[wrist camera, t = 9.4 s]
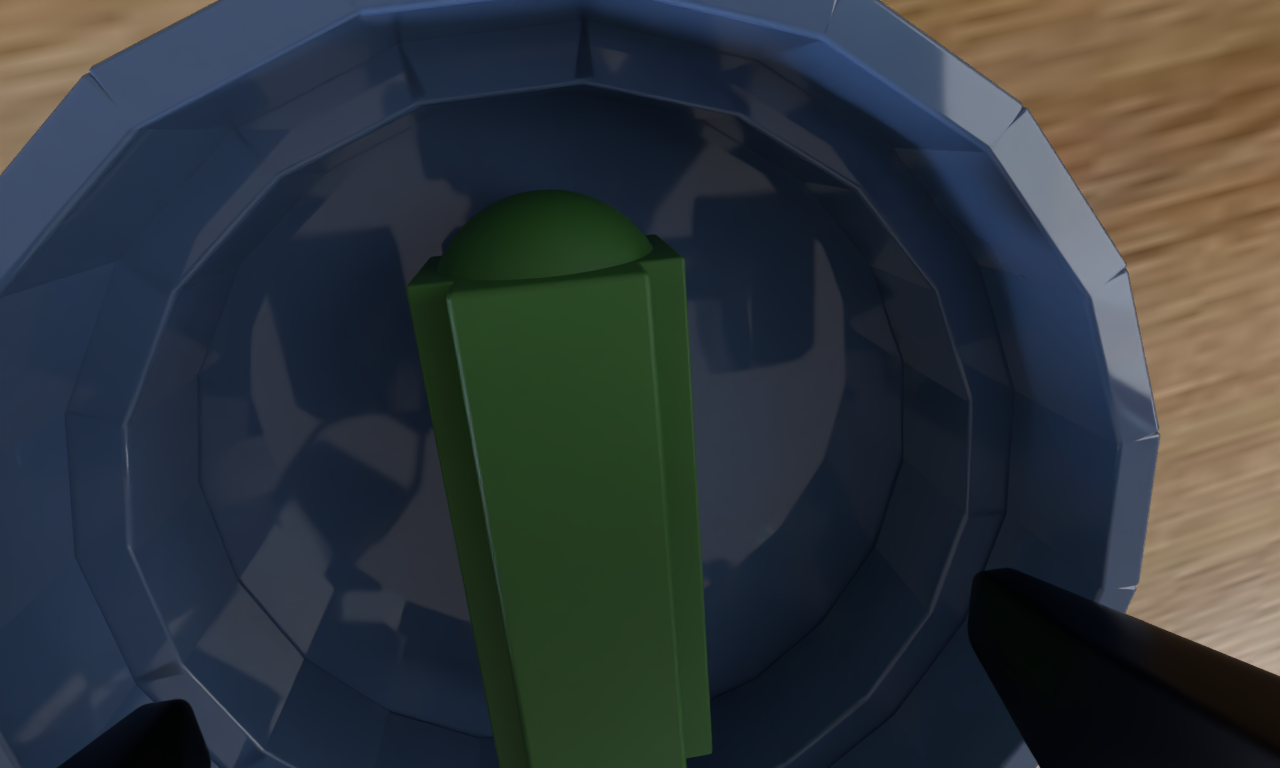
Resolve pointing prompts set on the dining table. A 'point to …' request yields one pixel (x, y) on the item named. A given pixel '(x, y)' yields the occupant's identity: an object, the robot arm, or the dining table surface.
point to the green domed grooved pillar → (571, 479)
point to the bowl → (397, 402)
